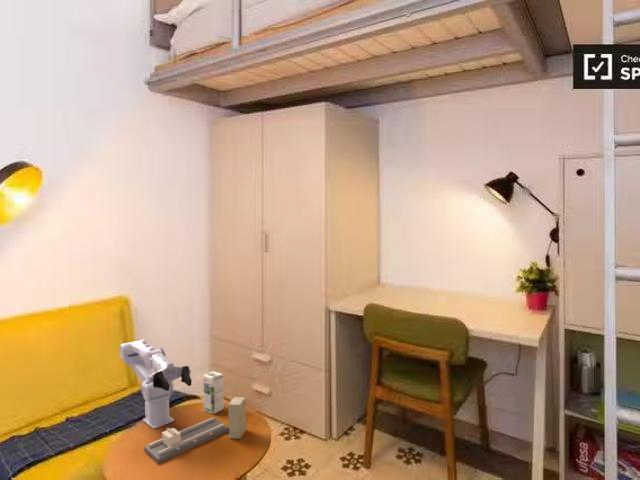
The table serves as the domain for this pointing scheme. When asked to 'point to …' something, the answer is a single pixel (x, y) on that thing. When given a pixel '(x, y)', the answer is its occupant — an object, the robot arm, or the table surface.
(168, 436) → the fader tab
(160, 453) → the gray slider track
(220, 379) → the syrup box
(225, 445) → the table surface
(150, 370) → the robot arm
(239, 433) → the skincare box
